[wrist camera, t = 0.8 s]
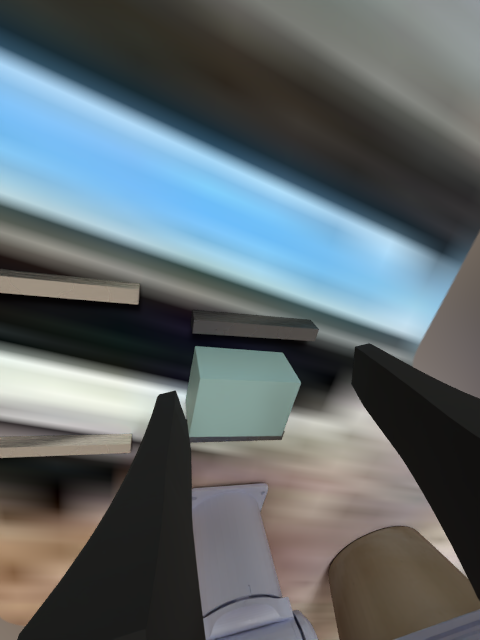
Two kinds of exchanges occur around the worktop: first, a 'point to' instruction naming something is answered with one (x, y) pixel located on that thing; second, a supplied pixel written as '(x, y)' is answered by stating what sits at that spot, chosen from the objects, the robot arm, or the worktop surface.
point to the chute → (130, 295)
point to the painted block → (239, 393)
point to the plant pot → (395, 586)
